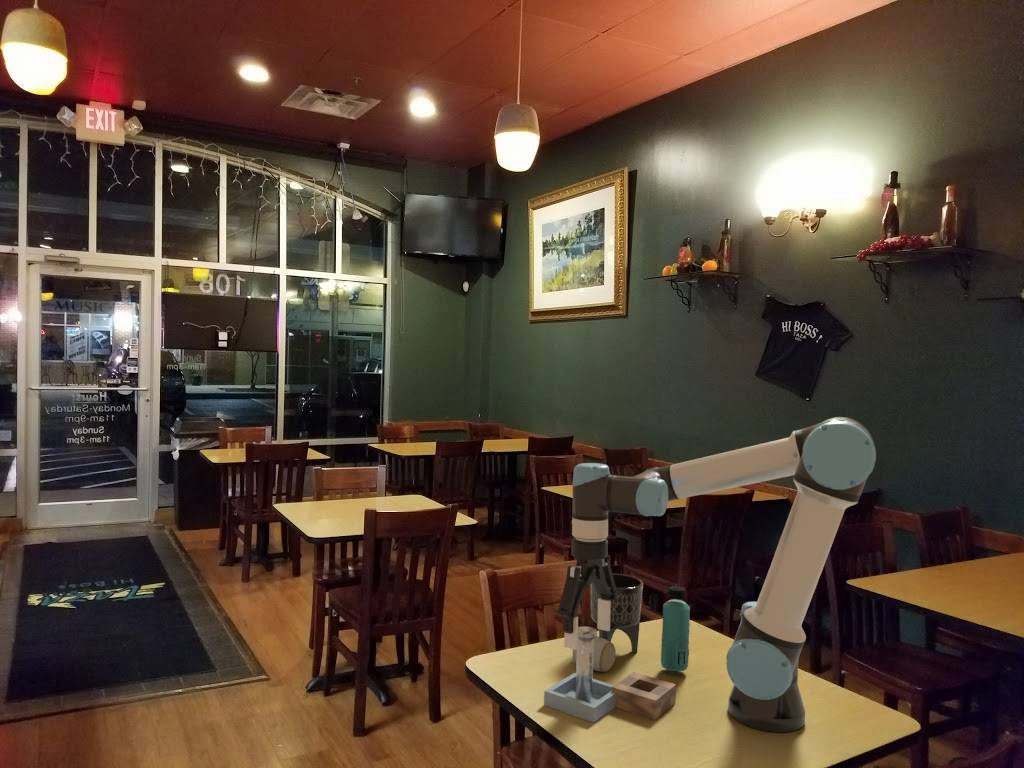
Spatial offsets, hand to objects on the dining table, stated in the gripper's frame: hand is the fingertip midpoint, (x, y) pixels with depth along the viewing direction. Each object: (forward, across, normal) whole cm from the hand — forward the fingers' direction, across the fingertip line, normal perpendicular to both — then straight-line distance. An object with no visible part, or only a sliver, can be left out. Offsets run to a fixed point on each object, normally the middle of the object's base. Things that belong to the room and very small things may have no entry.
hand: (587, 638), depth 161 cm
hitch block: (+14, -8, +9) cm, 19 cm away
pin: (+13, 0, -1) cm, 13 cm away
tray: (+14, 0, -1) cm, 14 cm away
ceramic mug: (+14, -19, -9) cm, 25 cm away
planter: (+14, -30, -10) cm, 35 cm away
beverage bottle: (+14, -28, +7) cm, 32 cm away
